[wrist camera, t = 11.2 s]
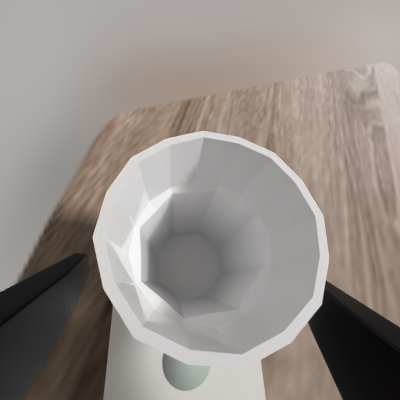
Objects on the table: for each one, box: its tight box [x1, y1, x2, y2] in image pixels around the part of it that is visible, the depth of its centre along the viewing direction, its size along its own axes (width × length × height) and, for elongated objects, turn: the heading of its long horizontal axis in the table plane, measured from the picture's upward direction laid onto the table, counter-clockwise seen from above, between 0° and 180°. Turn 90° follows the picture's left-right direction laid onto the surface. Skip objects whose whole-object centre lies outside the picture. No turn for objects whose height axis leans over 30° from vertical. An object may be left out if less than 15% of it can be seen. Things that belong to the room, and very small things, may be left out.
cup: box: [92, 131, 329, 369], centre depth 11 cm, size 7×7×11 cm
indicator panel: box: [103, 305, 266, 400], centre depth 14 cm, size 18×10×1 cm, turn 2°
